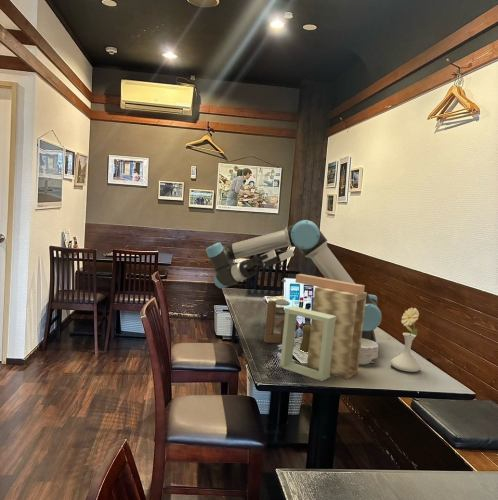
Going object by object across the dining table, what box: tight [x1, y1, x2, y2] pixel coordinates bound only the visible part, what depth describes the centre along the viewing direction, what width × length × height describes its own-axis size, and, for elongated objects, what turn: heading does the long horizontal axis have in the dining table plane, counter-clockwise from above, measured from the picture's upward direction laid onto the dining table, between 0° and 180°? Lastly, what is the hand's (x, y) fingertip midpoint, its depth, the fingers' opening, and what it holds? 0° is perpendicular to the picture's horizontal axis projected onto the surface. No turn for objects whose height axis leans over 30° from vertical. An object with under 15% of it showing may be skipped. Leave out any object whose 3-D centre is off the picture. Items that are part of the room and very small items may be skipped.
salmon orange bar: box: [295, 273, 366, 295], centre depth 167 cm, size 26×4×3 cm, turn 54°
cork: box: [299, 324, 311, 352], centre depth 186 cm, size 6×6×11 cm
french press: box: [273, 278, 291, 334], centre depth 212 cm, size 10×12×25 cm
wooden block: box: [263, 300, 285, 345], centre depth 194 cm, size 4×11×18 cm, turn 95°
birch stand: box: [306, 286, 368, 380], centre depth 166 cm, size 16×10×30 cm, turn 54°
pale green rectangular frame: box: [278, 305, 337, 382], centre depth 161 cm, size 18×6×22 cm, turn 54°
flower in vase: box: [390, 307, 422, 373], centre depth 173 cm, size 13×11×25 cm
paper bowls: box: [359, 338, 379, 365], centre depth 180 cm, size 15×15×8 cm
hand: (284, 252), depth 180 cm, fingers open, 13 cm apart
